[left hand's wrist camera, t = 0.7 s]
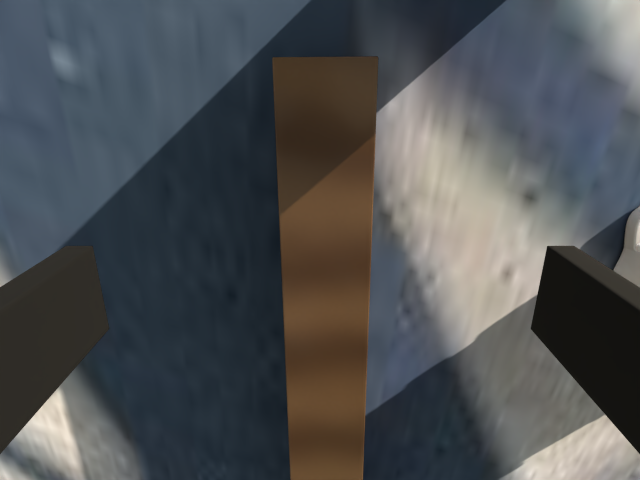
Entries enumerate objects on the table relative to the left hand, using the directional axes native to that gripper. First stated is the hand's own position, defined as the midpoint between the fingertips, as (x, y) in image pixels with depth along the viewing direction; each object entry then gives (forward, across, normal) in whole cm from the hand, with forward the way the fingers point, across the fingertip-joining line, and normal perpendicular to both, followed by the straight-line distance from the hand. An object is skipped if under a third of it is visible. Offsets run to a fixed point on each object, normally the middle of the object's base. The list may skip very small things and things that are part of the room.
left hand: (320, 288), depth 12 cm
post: (+21, 0, -19) cm, 28 cm away
